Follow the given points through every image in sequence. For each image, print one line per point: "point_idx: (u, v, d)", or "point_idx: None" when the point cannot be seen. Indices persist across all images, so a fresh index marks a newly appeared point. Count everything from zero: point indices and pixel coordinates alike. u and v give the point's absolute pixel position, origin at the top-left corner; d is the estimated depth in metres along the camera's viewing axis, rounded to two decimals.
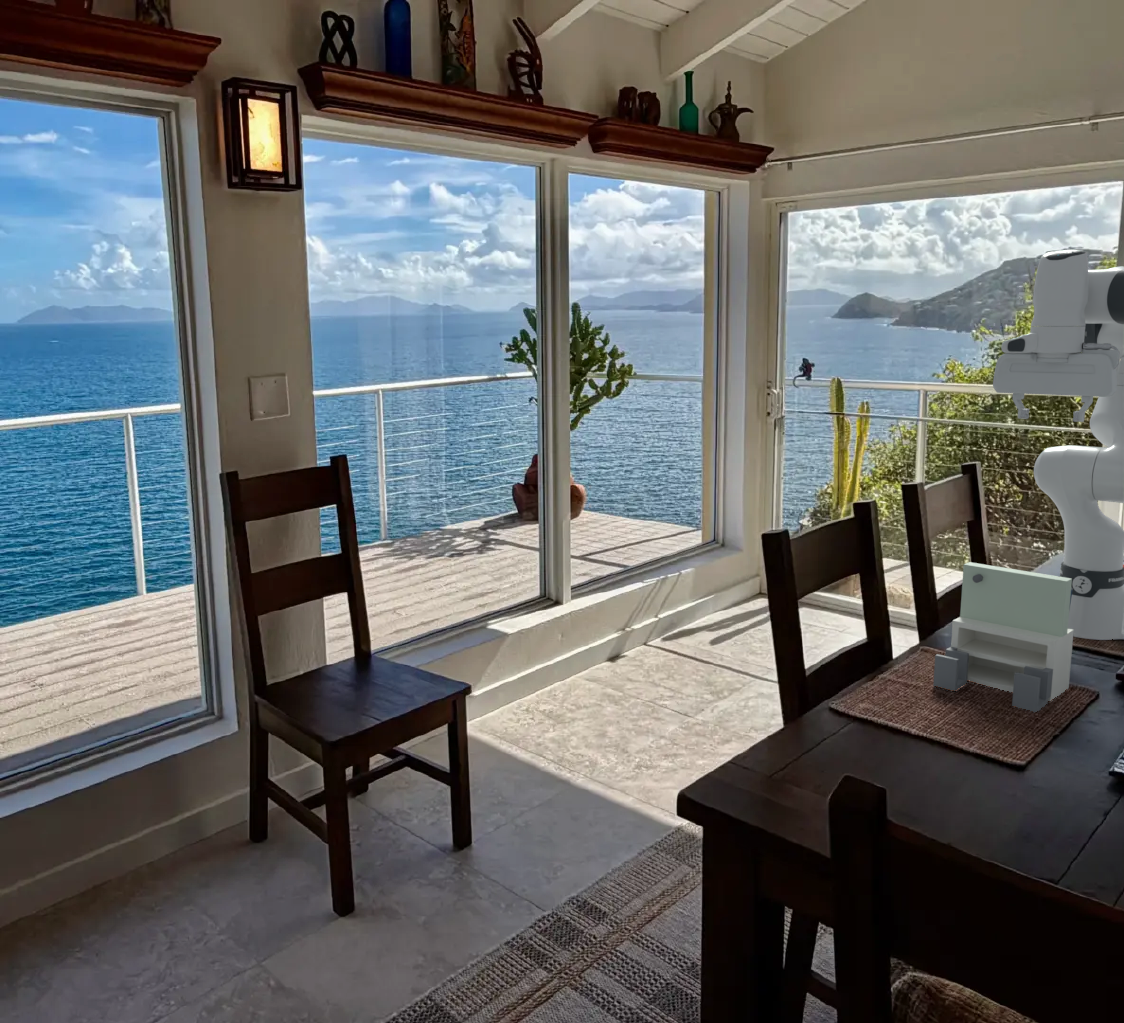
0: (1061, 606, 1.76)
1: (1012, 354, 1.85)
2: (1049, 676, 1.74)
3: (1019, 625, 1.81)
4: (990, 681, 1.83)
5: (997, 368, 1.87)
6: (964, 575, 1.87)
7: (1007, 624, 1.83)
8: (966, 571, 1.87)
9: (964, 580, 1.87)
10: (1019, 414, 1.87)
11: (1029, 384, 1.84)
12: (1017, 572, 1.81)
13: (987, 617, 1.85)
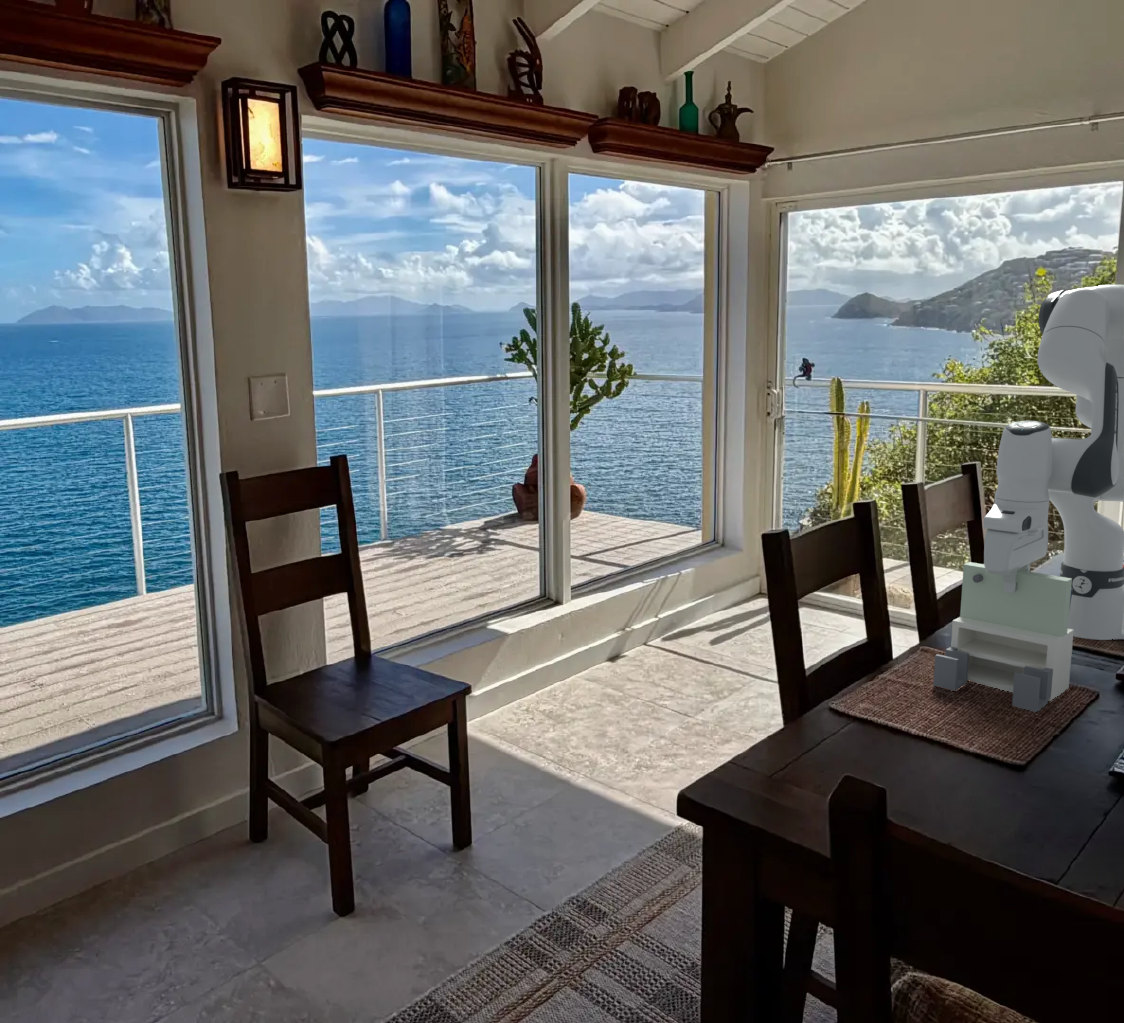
0: (1061, 606, 1.76)
1: (1020, 533, 1.73)
2: (1049, 676, 1.74)
3: (1019, 625, 1.81)
4: (990, 681, 1.83)
5: (1011, 550, 1.72)
6: (964, 575, 1.87)
7: (1007, 624, 1.83)
8: (966, 571, 1.87)
9: (964, 580, 1.87)
10: (1015, 588, 1.80)
11: (1020, 559, 1.77)
12: (1017, 571, 1.81)
13: (987, 617, 1.85)
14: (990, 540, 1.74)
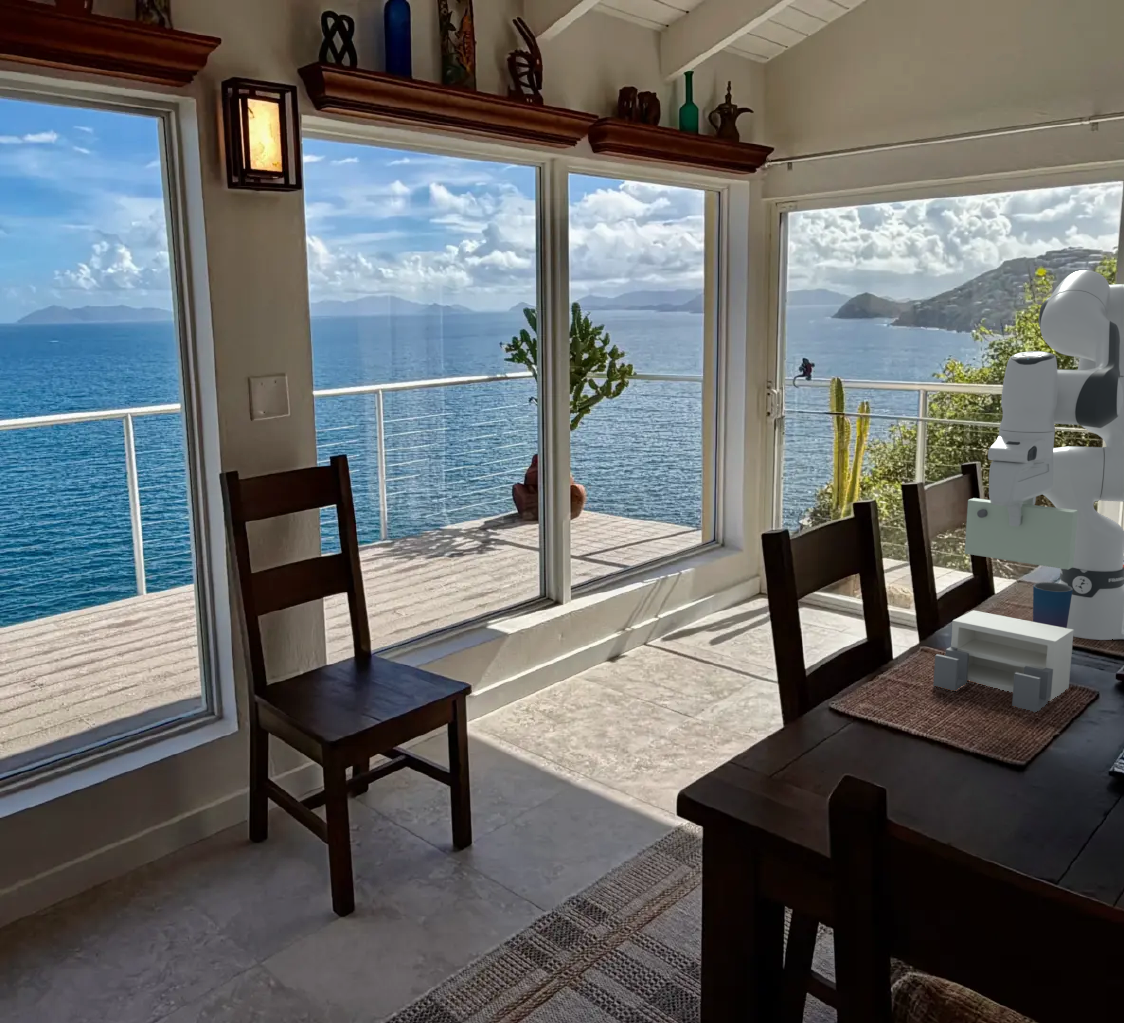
0: (1067, 538, 1.73)
1: (1025, 463, 1.71)
2: (1049, 676, 1.74)
3: (1024, 559, 1.79)
4: (990, 681, 1.83)
5: (1016, 480, 1.70)
6: (968, 511, 1.85)
7: (1012, 559, 1.80)
8: (970, 507, 1.84)
9: (968, 516, 1.85)
10: (1020, 522, 1.77)
11: (1025, 491, 1.75)
12: (1023, 505, 1.79)
13: (992, 553, 1.83)
14: (995, 471, 1.72)
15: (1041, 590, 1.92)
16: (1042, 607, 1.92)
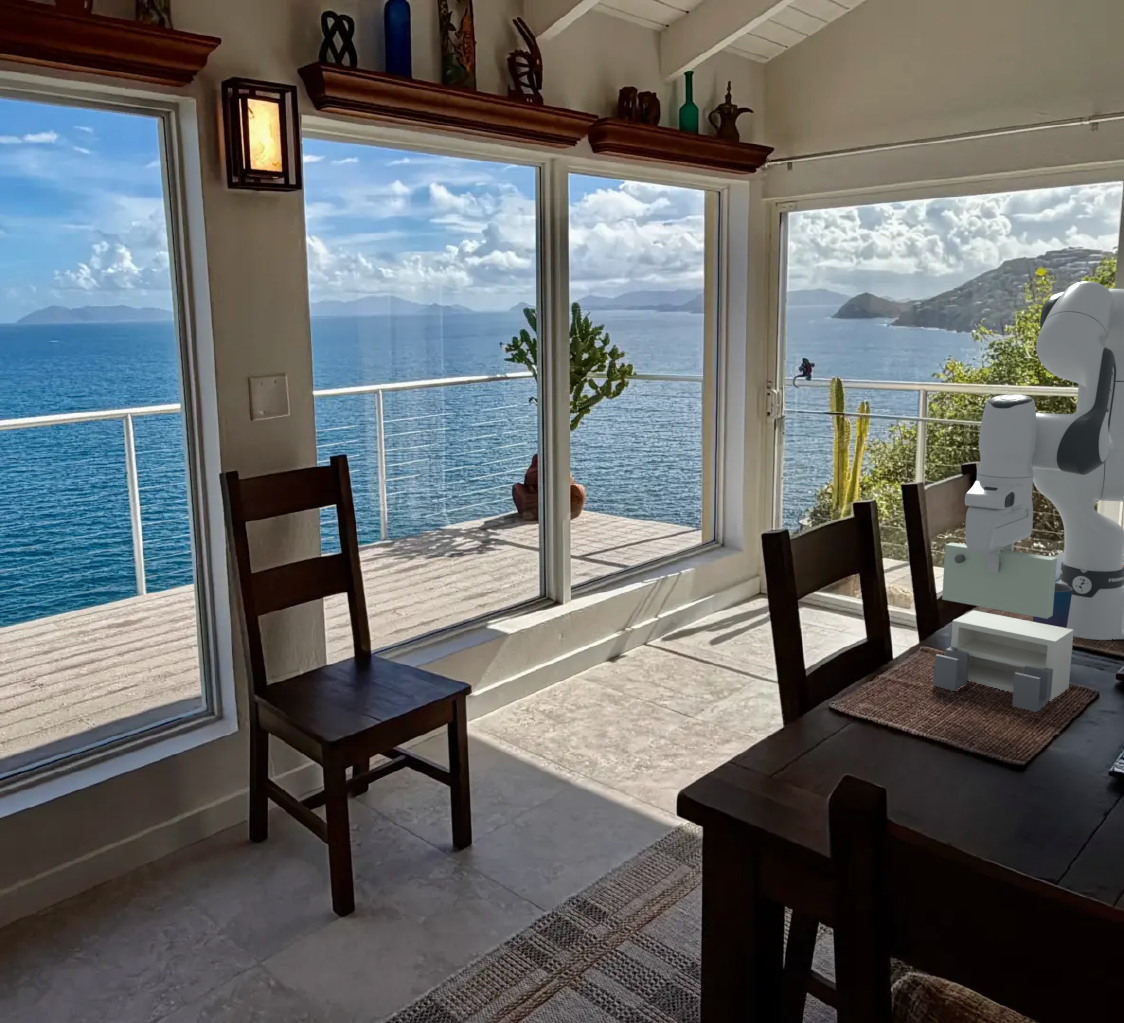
0: (1046, 587, 1.69)
1: (1003, 510, 1.67)
2: (1049, 676, 1.74)
3: (1003, 607, 1.74)
4: (990, 681, 1.83)
5: (993, 527, 1.65)
6: (946, 556, 1.80)
7: (990, 606, 1.76)
8: (948, 551, 1.80)
9: (946, 561, 1.80)
10: (998, 569, 1.73)
11: (1003, 538, 1.70)
12: (1001, 551, 1.74)
13: (970, 599, 1.78)
14: (972, 517, 1.67)
15: None
16: None
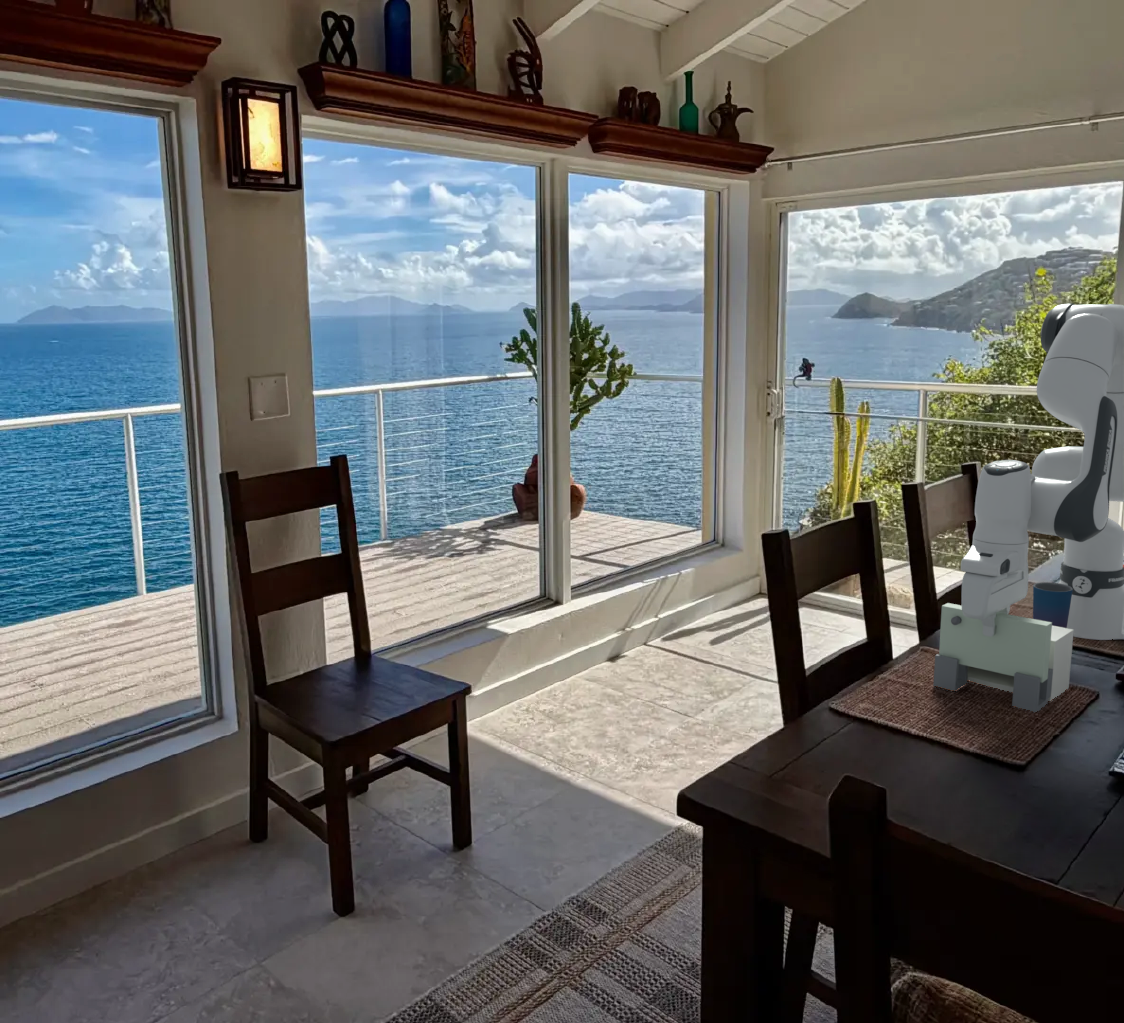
0: (1041, 651, 1.71)
1: (998, 577, 1.69)
2: (1049, 676, 1.74)
3: (998, 669, 1.76)
4: (990, 681, 1.83)
5: (989, 594, 1.67)
6: (942, 617, 1.82)
7: (986, 668, 1.78)
8: (944, 613, 1.82)
9: (942, 622, 1.82)
10: (993, 632, 1.75)
11: (999, 603, 1.72)
12: (996, 614, 1.76)
13: (966, 660, 1.80)
14: (967, 583, 1.70)
15: (1041, 590, 1.92)
16: (1042, 607, 1.92)
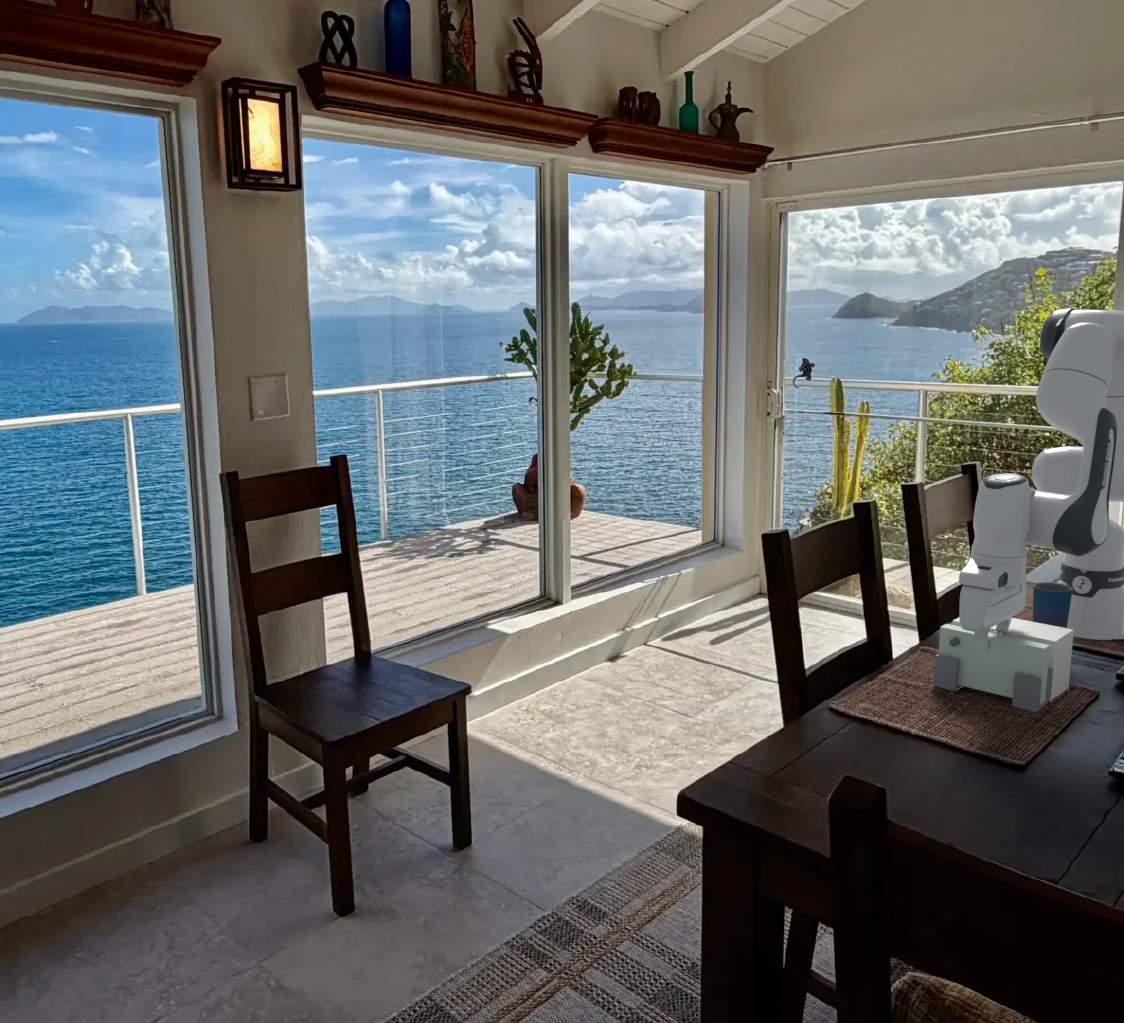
0: (1039, 674, 1.72)
1: (996, 590, 1.69)
2: (1049, 676, 1.74)
3: (997, 691, 1.77)
4: None
5: (986, 607, 1.68)
6: (941, 638, 1.83)
7: (984, 689, 1.79)
8: (943, 634, 1.83)
9: (941, 643, 1.83)
10: (987, 647, 1.74)
11: (996, 615, 1.73)
12: (994, 636, 1.77)
13: (964, 681, 1.81)
14: (966, 596, 1.70)
15: (1041, 590, 1.92)
16: (1042, 607, 1.92)
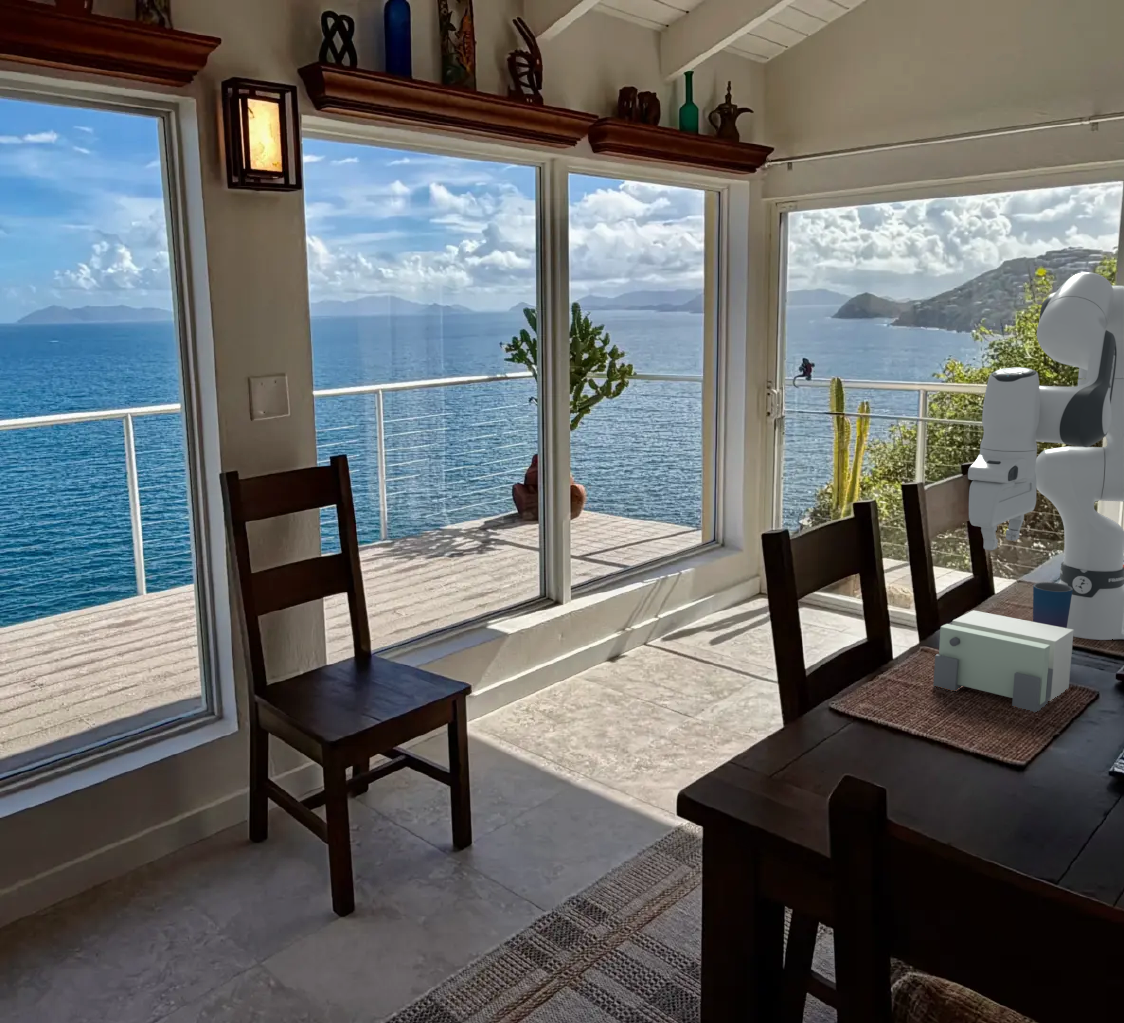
0: (1039, 674, 1.72)
1: (1006, 484, 1.66)
2: (1049, 676, 1.74)
3: (997, 691, 1.77)
4: None
5: (996, 501, 1.65)
6: (941, 637, 1.83)
7: (984, 689, 1.79)
8: (943, 634, 1.83)
9: (941, 643, 1.83)
10: (994, 546, 1.71)
11: (1006, 512, 1.70)
12: (995, 636, 1.77)
13: (964, 681, 1.81)
14: (975, 491, 1.67)
15: (1041, 590, 1.92)
16: (1042, 607, 1.92)
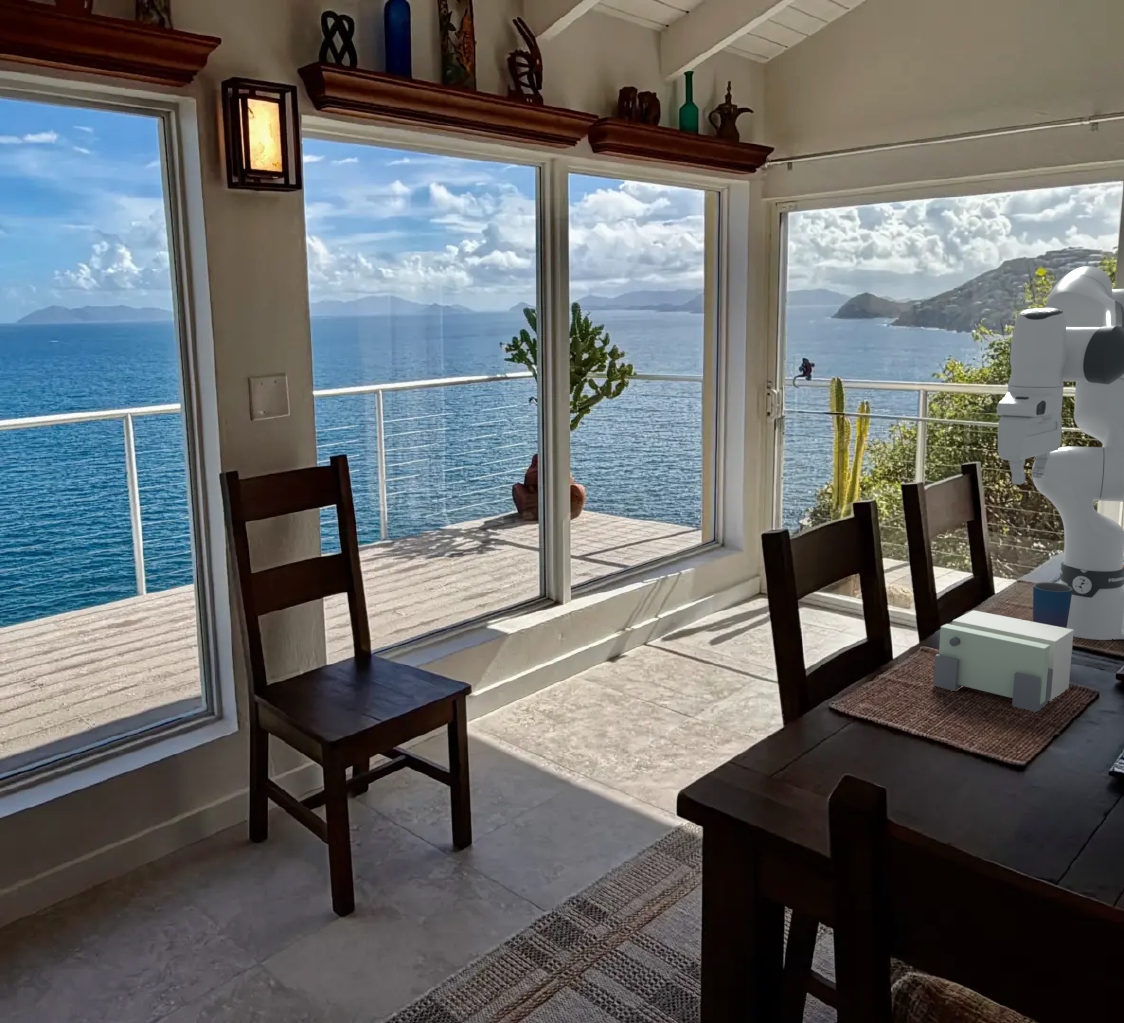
0: (1039, 674, 1.72)
1: (1034, 418, 1.71)
2: (1049, 676, 1.74)
3: (997, 691, 1.77)
4: None
5: (1025, 434, 1.70)
6: (941, 637, 1.83)
7: (984, 689, 1.79)
8: (943, 634, 1.83)
9: (941, 643, 1.83)
10: (1022, 480, 1.76)
11: (1034, 447, 1.75)
12: (995, 636, 1.77)
13: (964, 681, 1.81)
14: (1004, 425, 1.72)
15: (1041, 590, 1.92)
16: (1042, 607, 1.92)
